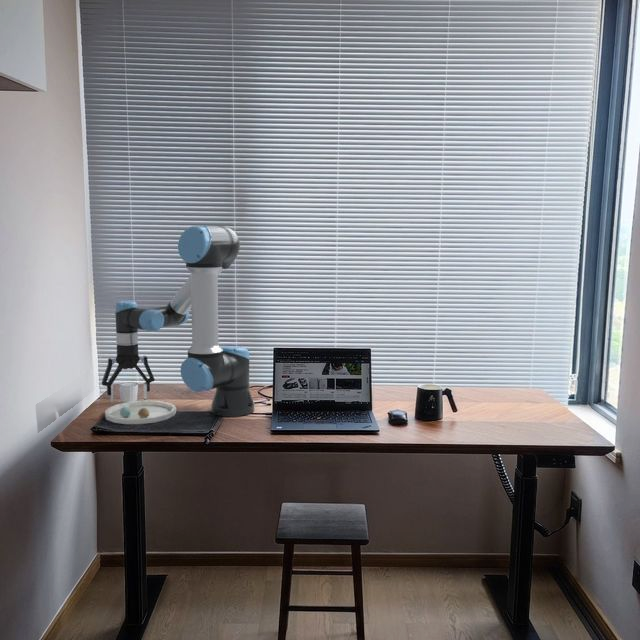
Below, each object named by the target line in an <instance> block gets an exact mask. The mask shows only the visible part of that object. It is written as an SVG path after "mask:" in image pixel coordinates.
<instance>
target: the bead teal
mask: <svg viewBox="0 0 640 640" xmlns="http://www.w3.org/2000/svg"><path fill="white" fill-rule="evenodd" d="M130 414H131V410H130V409H129V408H128V407H123V408H122V409H121V410H120V415H121V416H122V417H128V416H129V415H130Z"/></svg>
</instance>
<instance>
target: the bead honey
mask: <svg viewBox="0 0 640 640" xmlns="http://www.w3.org/2000/svg"><path fill="white" fill-rule="evenodd" d="M138 415H139V417H140V418H147V417H148V416H149V411H148V409H146V408H142V409H140V410H139V412H138Z"/></svg>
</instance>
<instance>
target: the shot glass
mask: <svg viewBox="0 0 640 640" xmlns="http://www.w3.org/2000/svg"><path fill="white" fill-rule="evenodd" d="M118 390H119V396H120V402H121V403H126V402H134V401H138V393H139V392H138V391H139V383H138V382H134V381H133V382H132V381H130V382H123V383H119V384H118Z"/></svg>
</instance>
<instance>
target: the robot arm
mask: <svg viewBox="0 0 640 640" xmlns="http://www.w3.org/2000/svg"><path fill="white" fill-rule="evenodd" d="M240 246H241V243H240V238H239V236H238V235H237V233H236V232H235V231H234V230H233V229H231V228H230V227H228V226H225V225H223V226H222V225H218V226H217V225H193V226H189V227H187V228H186V229H184V231H183V232H182V233H181V234H180V236H179V239H178V243H177V251H178V254H179V256H180V259H182V261H183V262H185V268H186V270H187V271H189V272H190V275H189V277H188V278H187V279H186V281H185V282H184V284H183V285H182V286H181V288H180V289H179V290H178V291H177V292H176V293H175V295H174V297H173V296H172V298H171V300H170V301H169V302H168V304H167V305H166V306H165V305H164V306H157V307H151V308H139V307H138V303H137V302H136V301H133V300H121V301H118V302H116V304H115V311H114V315H115V331H116V333H115V336H116V339H115V340H116V343H117V344H116V357H115V358H110V357H109V358H108V359H107V366H106V369H105V372H104V375H103V376H102V380H101V385H102V386H104V387H106V393H107V396H110V404H114V403H115V401H114V400H115V398H114V397H115V396H114V386H113V383H114V382H115V380H116V379H117V378H118V376H119V375H120V373H121V372H122V370H129V369H130V370H133V369H134V370H136V371H137V373H138V374H139V375H140V377H142V380H144V381H145V382H143V383H142V385H143V401H148V392H150V390H151V387H150V385H151V383H152V382H154V381H155V377H154V375H153V373H152V372H153V371H152V369H151V367H150V366H149V363H148V361H149V360H148V356H146V355H143V356H140V355H139V344H138V342H139V334H138V333H139V331H138V330H141V331H148V332H157V331H159V330H161V329H162V328H163V329H164V328H168V327H177V326H181V325H184V324H185V323H187V322H188V320H189V318H190V317H189V316H190V310H191V340H192V342H191V346H190V347H189V348H188V350H187V358H186V359H185V360H184V361H183V362H182V363H181V365H180V376H181V379H182V381H183V383H184V384H185V385H186V387H187V388H188V390H190V391H192V392H196V393H200V392H201V393H202V392H209V391H211V390H213V389H215V392H214V396H213V399H212V402H211V407H210V408H211V413H212V414H214V413H216V414H220V415H221V416H222V417H242V416H246V415H250V414H252V413H254V411H255V403H254V400H253V396H252V393H251V391H250V361H251V358H250V353H249V349H247V348H246V347H242V346H235V345H232V346H230V345H219V301H218V300H219V296H218V295H219V289H218V288H219V285H218V284H219V282H218V279H219V277H218V276H220V274H221V273H222V271H224V270H228V269H230V267H231V265H232V264H234V262H235V260H236V259H237V257H238V256H239V252H240V249H241V248H240ZM139 361H141V363H142V364H143V365H144V367H145V370H146V373H147V375H148V376H149V378H148V377H147V376H146V374H145V373H144V372H143V370H142V369H141V368H140V367H139V365H138V363H139ZM115 363H117V364H118V365H117V366H116V369H115V371H114V372H113V374H110V373H111V371H112V367H113V365H115ZM110 375H111V376H110ZM109 376H110V378H109ZM108 379H109V380H108ZM216 414H215V415H216ZM220 415H219V416H220Z"/></svg>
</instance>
